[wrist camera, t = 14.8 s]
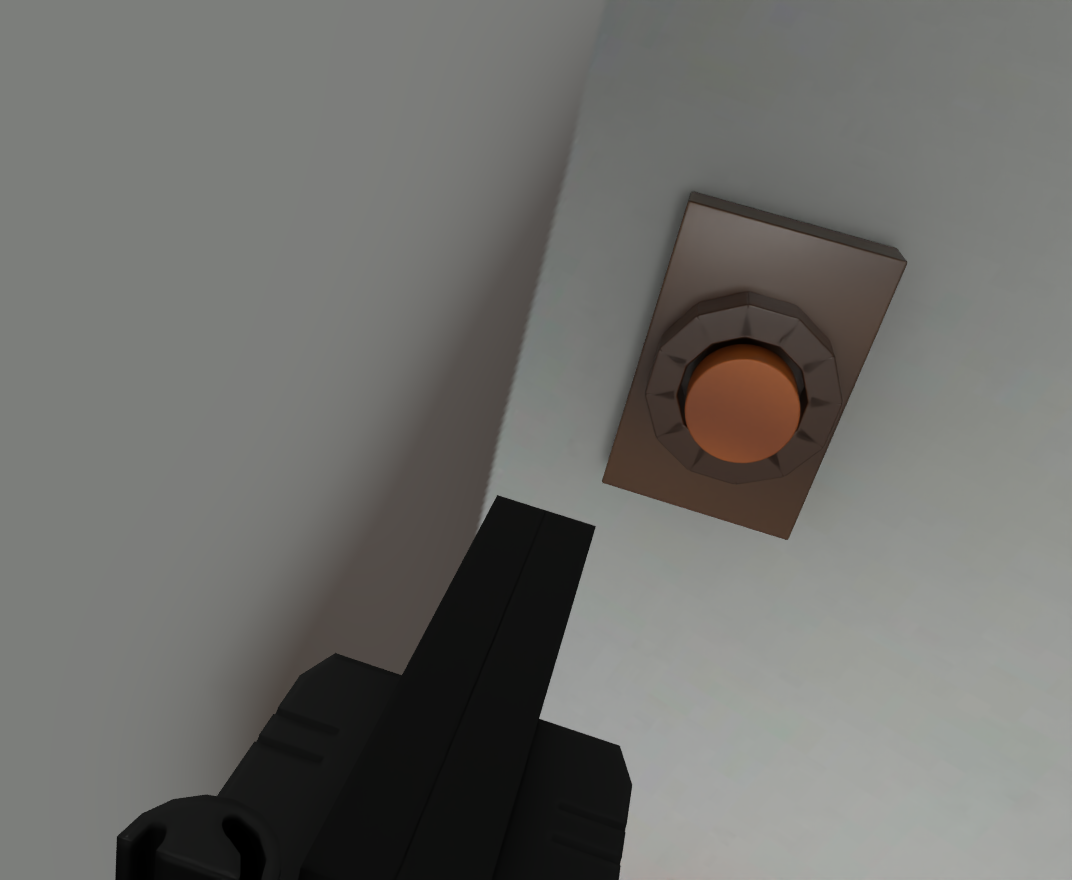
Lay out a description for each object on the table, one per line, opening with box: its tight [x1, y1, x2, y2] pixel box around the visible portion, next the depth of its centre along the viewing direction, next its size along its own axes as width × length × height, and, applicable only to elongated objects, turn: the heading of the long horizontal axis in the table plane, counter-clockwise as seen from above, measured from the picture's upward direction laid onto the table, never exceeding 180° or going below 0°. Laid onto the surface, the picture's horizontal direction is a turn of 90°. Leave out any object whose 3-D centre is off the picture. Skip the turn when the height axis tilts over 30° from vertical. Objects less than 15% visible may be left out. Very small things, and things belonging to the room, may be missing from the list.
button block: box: [602, 192, 907, 540], centre depth 35 cm, size 12×8×4 cm, turn 166°
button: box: [685, 344, 800, 463], centre depth 32 cm, size 4×4×2 cm
